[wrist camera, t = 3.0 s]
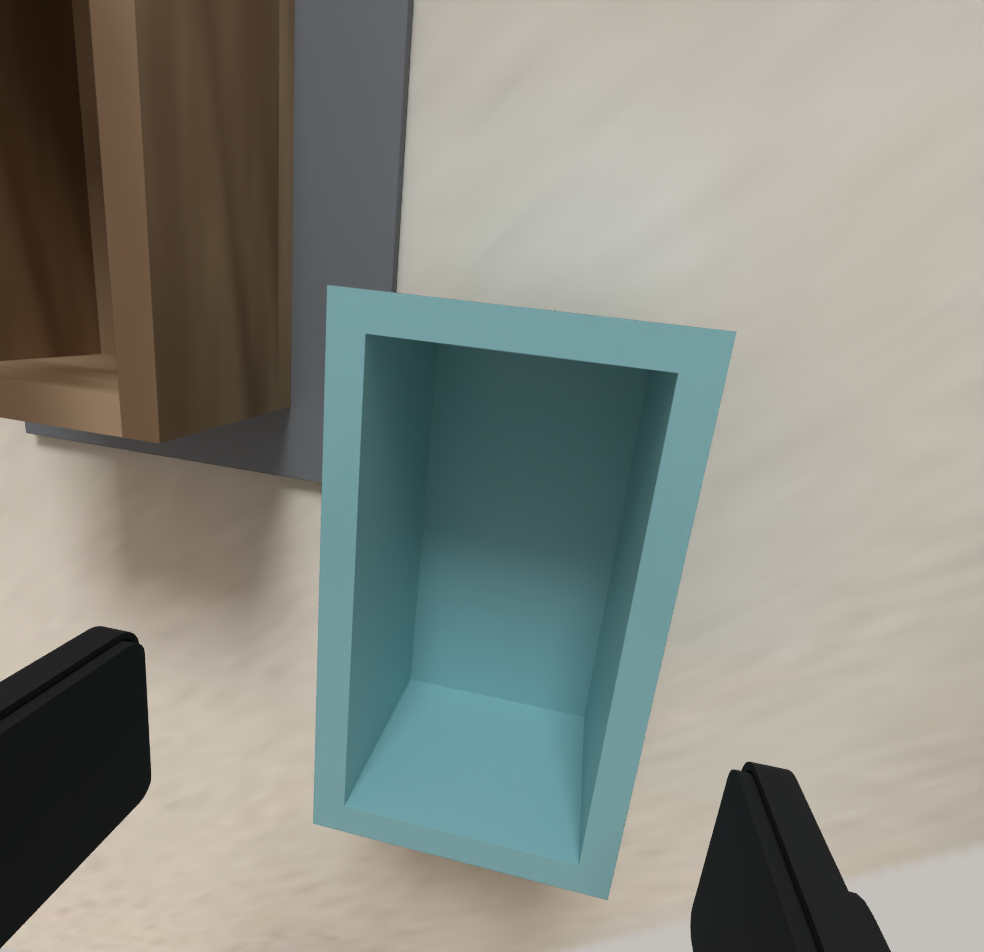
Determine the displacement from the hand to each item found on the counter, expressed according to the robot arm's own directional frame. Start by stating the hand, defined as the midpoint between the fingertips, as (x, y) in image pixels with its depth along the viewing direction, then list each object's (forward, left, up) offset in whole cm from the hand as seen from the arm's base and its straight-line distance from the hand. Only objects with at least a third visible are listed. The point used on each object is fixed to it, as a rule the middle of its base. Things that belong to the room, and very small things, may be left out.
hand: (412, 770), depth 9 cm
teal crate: (0, -1, -11) cm, 11 cm away
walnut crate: (+12, -10, -11) cm, 18 cm away
